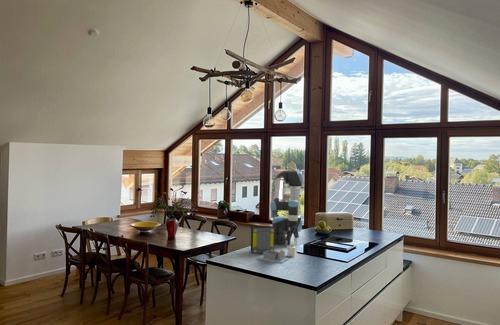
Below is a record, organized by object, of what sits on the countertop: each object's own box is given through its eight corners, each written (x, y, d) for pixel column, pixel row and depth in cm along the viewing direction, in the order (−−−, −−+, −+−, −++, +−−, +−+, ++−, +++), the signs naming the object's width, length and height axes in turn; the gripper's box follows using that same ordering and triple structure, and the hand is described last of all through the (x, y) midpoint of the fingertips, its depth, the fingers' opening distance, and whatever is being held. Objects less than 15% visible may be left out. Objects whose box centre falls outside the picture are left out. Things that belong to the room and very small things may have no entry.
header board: (264, 255, 282) (264, 244, 282) (288, 259, 273) (288, 248, 273) (257, 259, 272) (257, 247, 272) (281, 263, 262) (282, 251, 262)
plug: (289, 254, 287) (289, 245, 287) (296, 255, 285) (296, 246, 285) (287, 255, 284) (287, 246, 283) (294, 257, 281) (294, 247, 281)
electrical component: (252, 253, 288) (253, 228, 288) (250, 250, 298) (250, 226, 298) (274, 253, 291) (274, 228, 291) (271, 250, 301) (271, 225, 301)
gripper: (294, 217, 297) (293, 244, 296) (281, 221, 275) (281, 250, 275) (303, 218, 293) (302, 245, 293) (291, 222, 271) (290, 251, 271)
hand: (292, 247), depth 284 cm, fingers open, 13 cm apart
